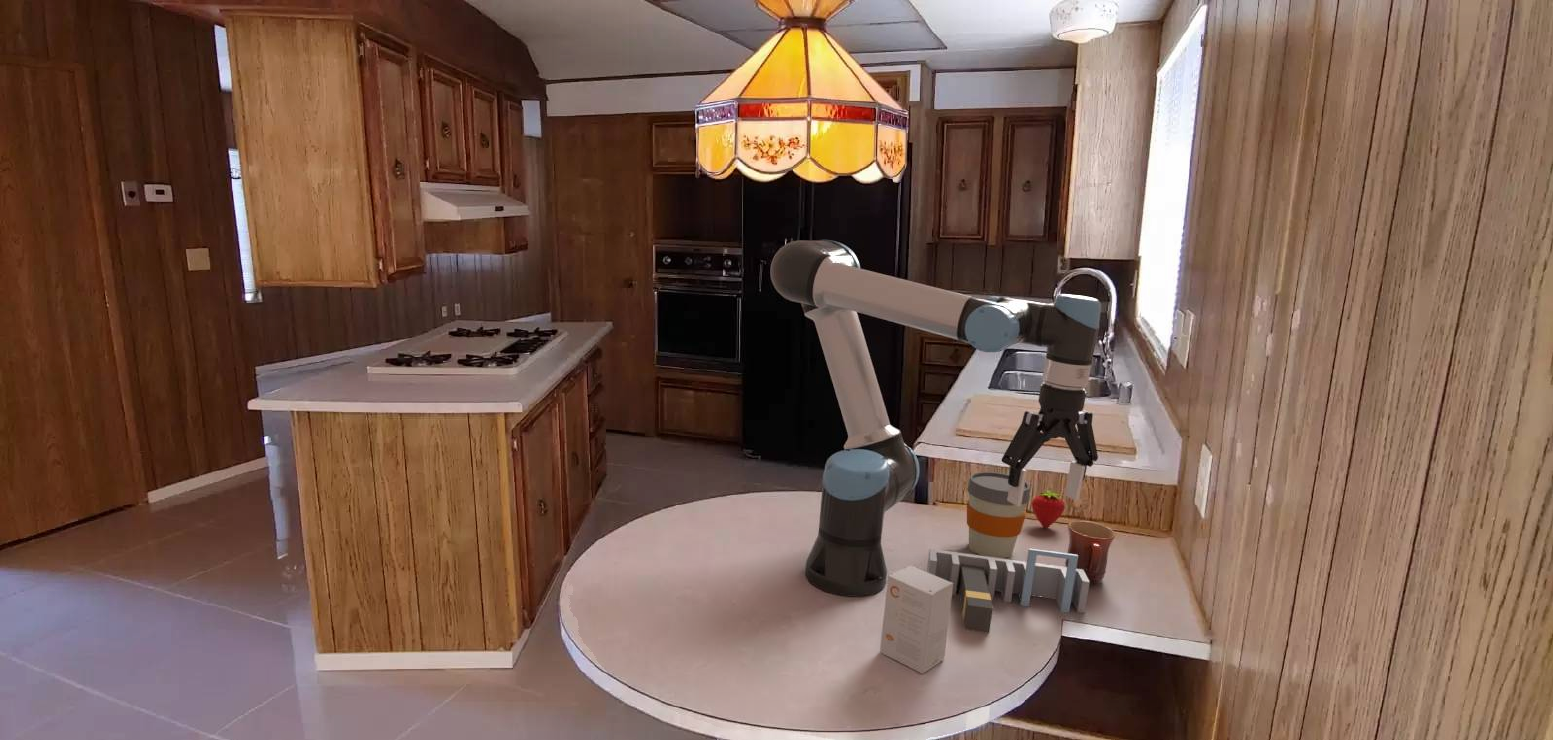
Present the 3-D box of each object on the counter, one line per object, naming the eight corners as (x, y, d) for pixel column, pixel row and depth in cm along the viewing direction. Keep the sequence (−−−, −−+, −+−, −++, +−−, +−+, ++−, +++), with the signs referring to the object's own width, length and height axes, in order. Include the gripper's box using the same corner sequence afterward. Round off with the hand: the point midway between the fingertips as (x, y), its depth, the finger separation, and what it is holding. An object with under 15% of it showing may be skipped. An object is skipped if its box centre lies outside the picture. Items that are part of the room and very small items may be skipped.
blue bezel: (1020, 605, 144) (1029, 549, 142) (1020, 604, 144) (1028, 548, 142) (1069, 612, 143) (1078, 556, 140) (1068, 610, 143) (1077, 554, 141)
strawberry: (1023, 522, 184) (1029, 481, 182) (1053, 522, 186) (1059, 481, 184) (1035, 532, 179) (1042, 490, 177) (1066, 532, 180) (1073, 490, 178)
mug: (1057, 565, 162) (1064, 518, 160) (1102, 572, 161) (1110, 524, 158) (1066, 592, 151) (1074, 541, 149) (1114, 599, 149) (1123, 548, 147)
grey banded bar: (964, 629, 134) (968, 604, 133) (957, 586, 149) (960, 564, 148) (989, 633, 133) (993, 608, 132) (980, 589, 149) (983, 567, 148)
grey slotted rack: (926, 590, 146) (930, 560, 145) (925, 578, 152) (929, 548, 150) (1084, 613, 143) (1089, 582, 142) (1078, 599, 148) (1083, 569, 147)
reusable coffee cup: (1025, 566, 161) (1036, 495, 158) (962, 557, 162) (971, 487, 159) (1016, 541, 173) (1026, 475, 170) (958, 533, 175) (966, 468, 172)
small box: (944, 660, 124) (955, 582, 121) (922, 675, 119) (932, 595, 117) (901, 638, 129) (910, 564, 127) (878, 652, 125) (887, 575, 122)
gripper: (1023, 391, 129) (1003, 514, 133) (1133, 389, 140) (1110, 503, 144) (993, 380, 136) (974, 497, 140) (1099, 379, 146) (1079, 488, 151)
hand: (1043, 500), depth 142 cm, fingers open, 13 cm apart
